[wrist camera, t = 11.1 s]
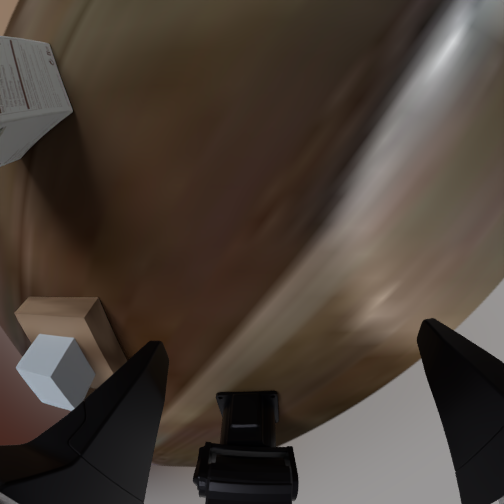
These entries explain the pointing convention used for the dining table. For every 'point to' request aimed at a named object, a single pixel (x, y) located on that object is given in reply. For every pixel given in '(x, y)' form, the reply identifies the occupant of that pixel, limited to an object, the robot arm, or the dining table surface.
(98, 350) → the tan flat block
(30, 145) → the supplement box
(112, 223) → the dining table surface
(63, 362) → the slate block
